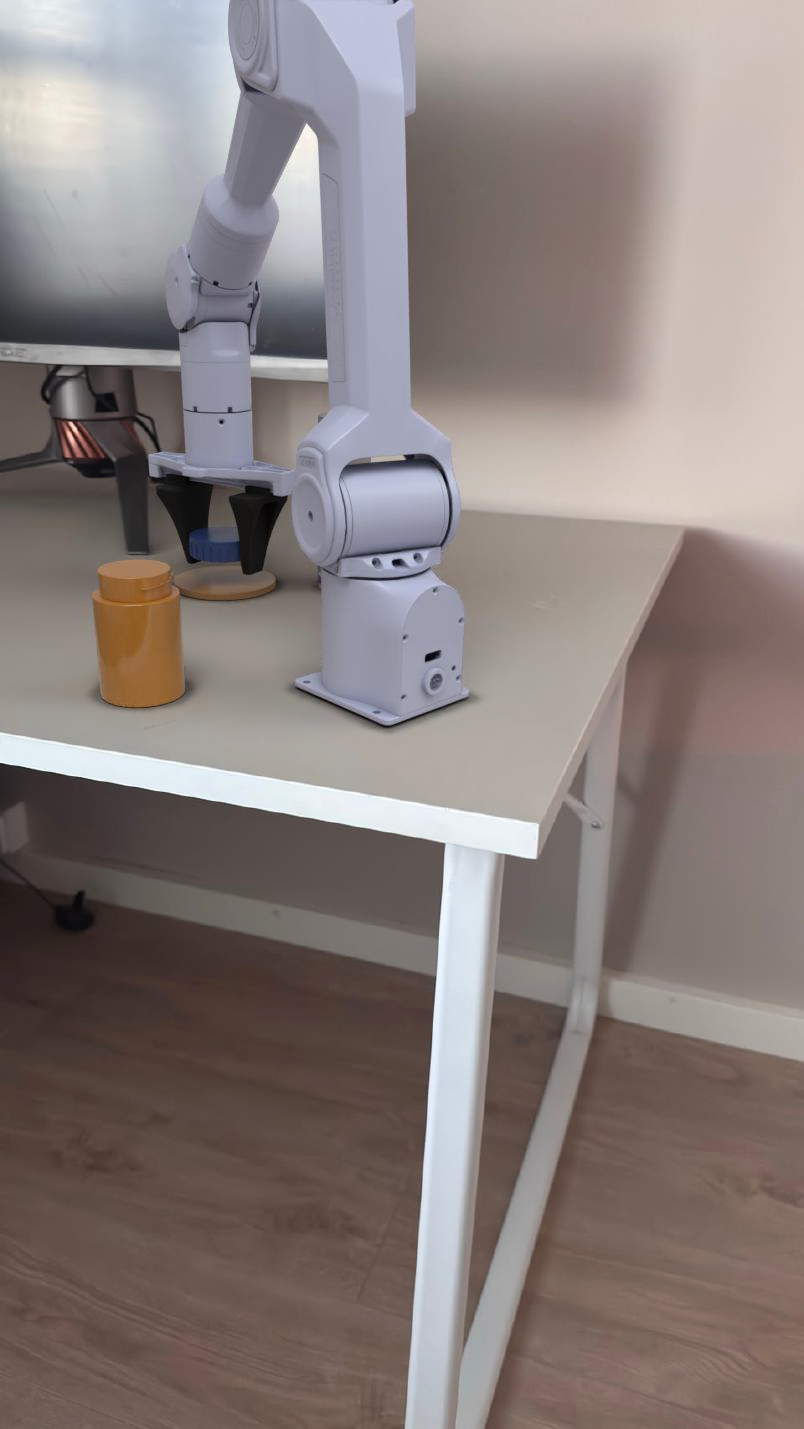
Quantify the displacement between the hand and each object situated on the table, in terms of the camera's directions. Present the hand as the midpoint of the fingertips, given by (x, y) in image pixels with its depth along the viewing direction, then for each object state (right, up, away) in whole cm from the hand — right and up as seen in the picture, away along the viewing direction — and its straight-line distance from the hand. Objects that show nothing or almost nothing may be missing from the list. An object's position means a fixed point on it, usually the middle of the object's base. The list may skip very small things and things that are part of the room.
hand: (224, 566), depth 95 cm
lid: (0, +2, -1) cm, 3 cm away
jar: (-2, -12, -23) cm, 26 cm away
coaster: (0, -2, +1) cm, 2 cm away
